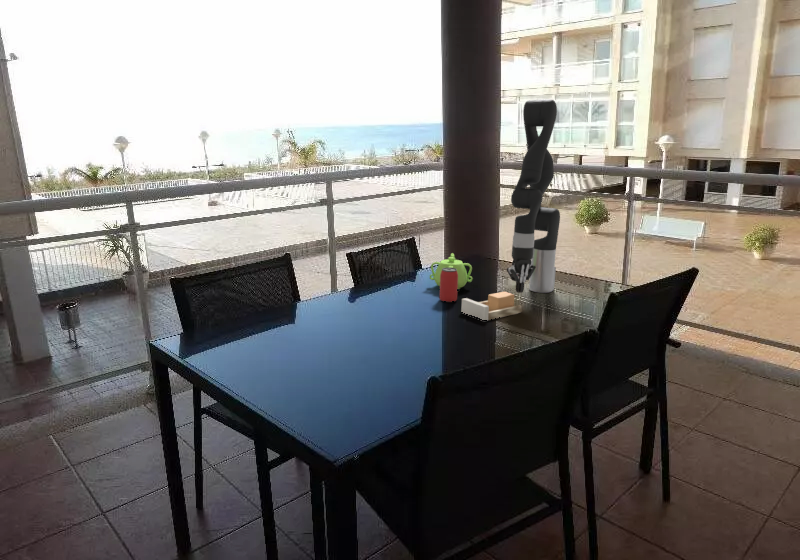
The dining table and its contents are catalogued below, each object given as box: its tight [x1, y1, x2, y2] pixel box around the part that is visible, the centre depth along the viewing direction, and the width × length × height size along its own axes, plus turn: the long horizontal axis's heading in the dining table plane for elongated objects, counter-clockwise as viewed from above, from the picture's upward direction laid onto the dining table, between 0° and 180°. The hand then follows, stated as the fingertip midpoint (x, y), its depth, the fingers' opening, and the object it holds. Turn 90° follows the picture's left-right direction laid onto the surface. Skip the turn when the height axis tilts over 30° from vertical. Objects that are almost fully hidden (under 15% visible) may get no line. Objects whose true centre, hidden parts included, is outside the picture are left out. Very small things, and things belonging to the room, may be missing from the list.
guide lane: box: [478, 299, 523, 321], centre depth 204 cm, size 16×11×2 cm
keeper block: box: [487, 290, 515, 312], centre depth 206 cm, size 8×5×6 cm, turn 125°
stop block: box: [460, 297, 490, 321], centre depth 199 cm, size 2×11×5 cm, turn 35°
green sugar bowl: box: [429, 252, 473, 289], centre depth 235 cm, size 16×14×13 cm
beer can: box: [439, 268, 458, 303], centre depth 217 cm, size 7×7×12 cm
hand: (519, 292), depth 210 cm, fingers closed
